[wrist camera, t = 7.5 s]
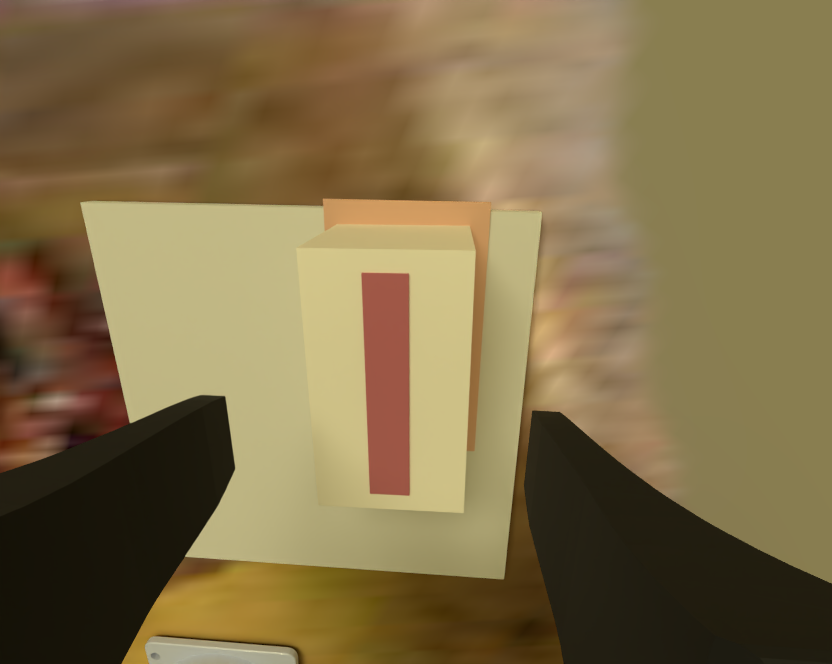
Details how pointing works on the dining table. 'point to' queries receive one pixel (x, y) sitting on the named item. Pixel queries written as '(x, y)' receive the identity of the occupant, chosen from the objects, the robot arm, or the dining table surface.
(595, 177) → the dining table surface
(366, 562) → the mat
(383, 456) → the card box
